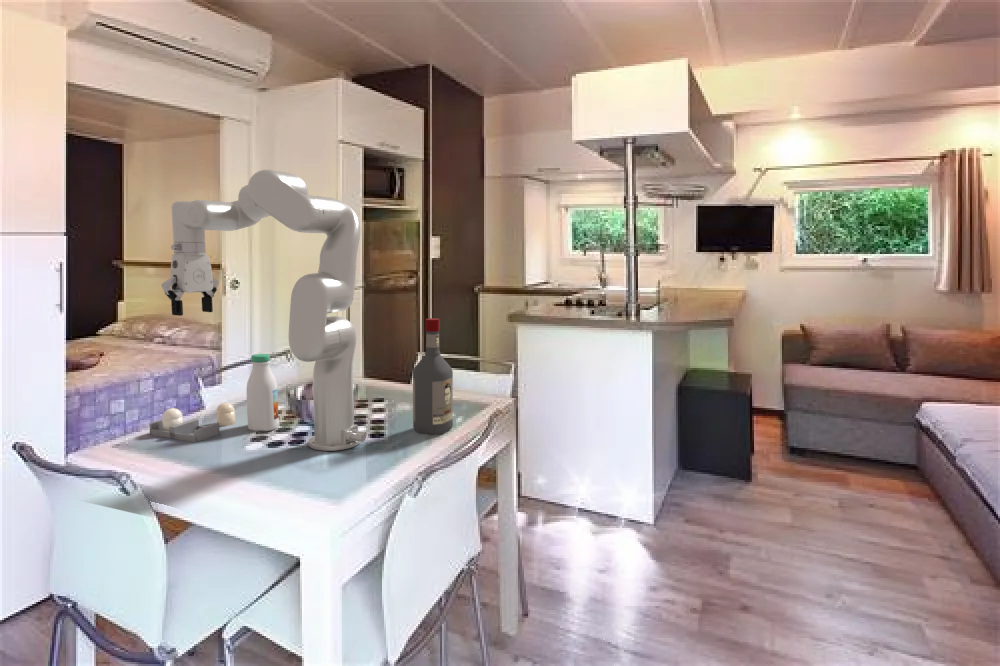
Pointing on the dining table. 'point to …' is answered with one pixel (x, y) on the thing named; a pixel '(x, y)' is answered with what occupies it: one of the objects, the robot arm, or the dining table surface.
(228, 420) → the tan egg
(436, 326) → the liquor
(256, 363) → the milk bottle
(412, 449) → the dining table surface
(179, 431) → the egg carton
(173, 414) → the cream egg
